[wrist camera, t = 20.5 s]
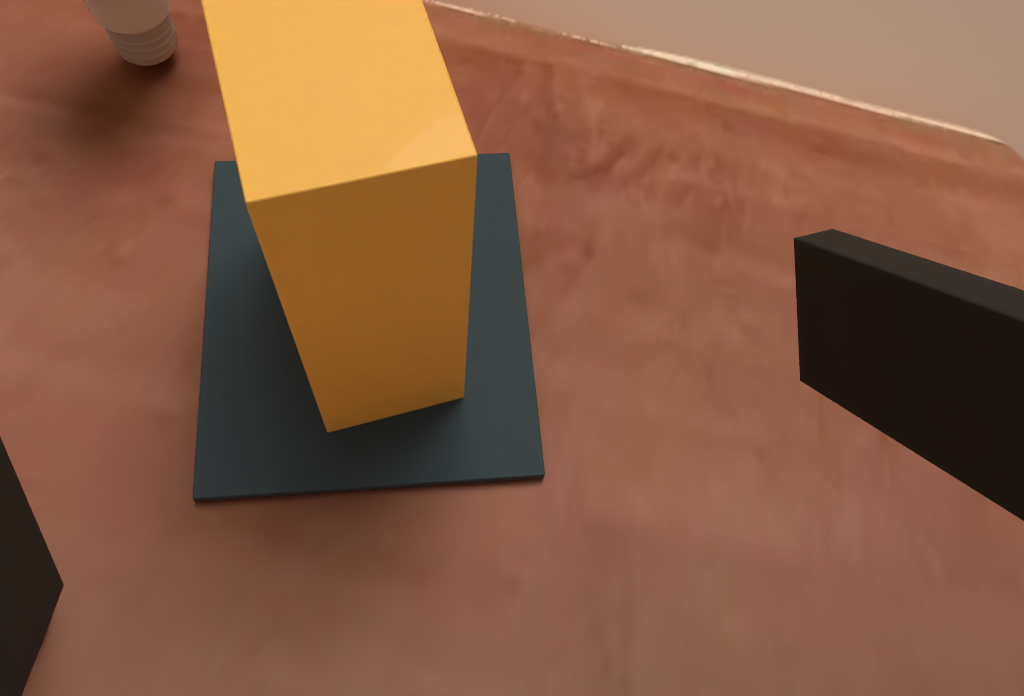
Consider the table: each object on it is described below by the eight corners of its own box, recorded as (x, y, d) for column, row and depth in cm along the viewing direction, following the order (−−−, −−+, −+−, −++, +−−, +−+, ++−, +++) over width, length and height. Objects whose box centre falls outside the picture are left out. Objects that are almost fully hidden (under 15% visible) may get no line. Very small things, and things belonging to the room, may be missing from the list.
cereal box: (402, 198, 35) (379, -120, 22) (464, 397, 31) (478, 155, 19) (278, 224, 34) (180, -92, 21) (327, 433, 30) (245, 203, 18)
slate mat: (508, 158, 37) (509, 152, 36) (543, 478, 31) (545, 474, 30) (216, 167, 35) (214, 161, 35) (195, 501, 29) (192, 498, 29)
